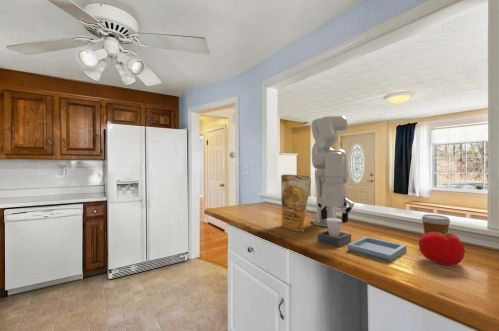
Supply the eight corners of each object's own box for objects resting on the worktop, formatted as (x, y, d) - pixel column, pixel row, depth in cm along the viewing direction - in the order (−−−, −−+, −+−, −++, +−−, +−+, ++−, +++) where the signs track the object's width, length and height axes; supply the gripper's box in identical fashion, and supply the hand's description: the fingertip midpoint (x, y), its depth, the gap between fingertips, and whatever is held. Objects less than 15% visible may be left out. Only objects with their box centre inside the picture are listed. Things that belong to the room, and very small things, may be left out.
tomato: (450, 272, 77) (450, 238, 77) (410, 259, 89) (410, 229, 89) (474, 265, 83) (474, 233, 83) (434, 253, 94) (434, 225, 94)
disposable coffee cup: (420, 241, 108) (420, 213, 108) (448, 244, 104) (448, 215, 103) (422, 247, 100) (422, 217, 100) (452, 251, 95) (452, 220, 95)
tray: (347, 250, 97) (347, 244, 97) (366, 242, 107) (366, 236, 107) (390, 262, 86) (390, 255, 86) (406, 251, 96) (406, 245, 95)
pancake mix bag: (285, 223, 140) (285, 174, 140) (312, 231, 125) (311, 175, 125) (276, 225, 137) (276, 174, 136) (302, 233, 121) (302, 175, 121)
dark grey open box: (317, 241, 109) (317, 233, 109) (330, 237, 115) (330, 229, 115) (338, 247, 101) (338, 238, 101) (351, 242, 108) (351, 234, 108)
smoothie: (343, 244, 104) (343, 211, 104) (327, 243, 106) (327, 210, 106) (340, 240, 111) (340, 208, 111) (325, 239, 112) (325, 208, 112)
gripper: (312, 180, 112) (312, 218, 112) (348, 181, 99) (348, 225, 98) (321, 179, 117) (322, 216, 117) (357, 181, 104) (358, 222, 103)
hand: (334, 220), depth 108 cm, fingers open, 9 cm apart
